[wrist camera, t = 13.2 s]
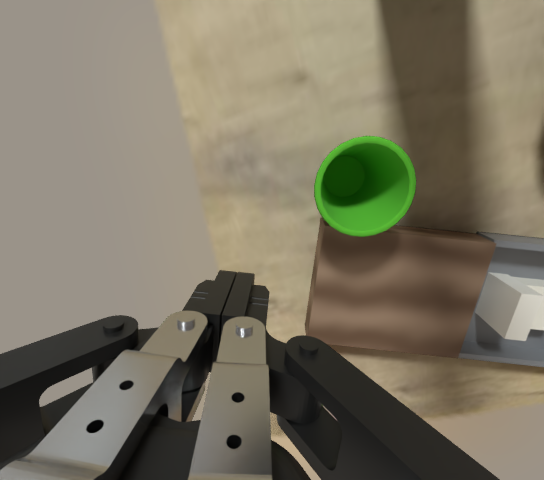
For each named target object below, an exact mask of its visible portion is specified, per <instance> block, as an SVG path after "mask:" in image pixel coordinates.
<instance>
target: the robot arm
mask: <svg viewBox="0 0 544 480" xmlns="http://www.w3.org/2000/svg"><path fill="white" fill-rule="evenodd" d="M268 301H269V291H268V290H267V288H266V287H265V286H260V285H254V274H251V273H242V272H238V273H237V272H232V271H222V270H220V271H219V273H218V275H217V277H216V279H215V281H211V280H206V281H204V282H202V283H200V284H199V285H198V286H197V287H196V289H195V291H194V292H193V294H192V296H191V298H190V299H189V301H188V302H187V304H186V305H185V307H184V309H183V310H182V311H180V312H176V313H174V314H171V315H170V316H168V318H166V320H165V321H164V322H163V323H162V324H161V326H160V327H158V328H151V329H140V330H138V322H137V321H136V320H135V319H134V318H132V317H129V316H122V315H119V316H111V317H107V318H103V319H101V320H98V321H95V322H92V323H89V324H86V325H83V326H80V327H78V328H74V329H72V330H69V331H66V332H63V333H60V334H57V335H54V336H51V337H49V338H46V339H43V340H40V341H37V342H34V343H31V344H29V345H26V346H23V347H20V348H17V349H14V350H11V351H8V352H5V353H2V354H0V480H311V479H310V478H309V476H308V475H307V474H306V472H305V471H304V470H303V468H302V467H301V465H300V464H299V463H298V461H297V460H296V459H295V458H294V457H293V456H292V455H291V454H290V453H289V452H288V451H287V450H286V449H284V448H283V447H282V446H280V445H279V444H277V443H276V442H274V441H272V440H271V428H270V412H271V413H274V414H276V415H277V422H278V424H279V426H280V428H281V429H282V430H283V431H284V433H285V434H286V435H287V437H288V438H289V439H290V440H291V442H292V443H293V444H294V445H295V447H296V448H297V449H298V450H299V452H300V453H301V454H302V456H303V457H304V458H305V459H306V461H307V462H308V463H309V464H310V466H311V467H312V468H313V470H314V471H315V472H316V473H317V475H318V476H319V477H320V478H321V480H499V479H498V478H497V477H496V476H494V475H493V474H492V473H491V472H489V471H488V470H487V469H485V468H484V467H483V466H481V465H480V464H479V463H478V462H476V461H475V460H474V459H473V458H471V457H470V456H469V455H468V454H466V453H465V452H464V451H462V450H461V449H460V448H458V447H457V446H456V445H455V444H453V443H452V442H451V441H450V440H448V439H447V438H446V437H445V436H443V435H442V434H440V433H439V432H438V431H437V430H436V429H434V428H433V427H432V426H430V425H429V424H428V423H427V422H425V421H424V420H423V419H421V418H420V417H419V416H418V415H416V414H415V413H414V412H413V411H411V410H410V409H409V408H407V407H406V406H405V405H404V404H402V403H401V402H400V401H398V400H397V399H396V398H395V397H393V396H392V395H391V394H390V393H388V392H387V391H386V390H384V389H383V388H382V387H381V386H379V385H378V384H377V383H375V382H374V381H373V380H372V379H370V378H369V377H368V376H367V375H365V374H364V373H363V372H361V371H360V370H359V369H358V368H356V367H355V366H354V365H352V364H351V363H350V362H349V361H347V360H346V359H345V358H343V357H342V356H341V355H340V354H338V353H337V352H336V351H335V350H333V349H332V348H331V347H329V346H328V345H327V344H326V343H324V342H323V341H321V340H319V339H317V338H315V337H311V336H296V337H293V338H291V339H290V340H289V341H288V342H287V343H283V342H281V341H278V340H276V339H274V338H273V337H271V336H270V335H269V333H268V332H267V330H266V320H267V310H268ZM89 368H92V373H93V383H91V384H89V385H87V386H85V387H83V388H80V389H78V390H76V391H74V392H72V393H70V394H68V395H66V396H64V397H62V398H60V399H58V400H56V401H53V402H52V403H49V404H47V405H45V406H43V407H40V406H39V399H40V396H41V395H42V393H43V392H44V391H45V390H46V389H47V388H48V387H50V386H52V385H54V384H56V383H58V382H60V381H62V380H65V379H67V378H69V377H71V376H74V375H76V374H78V373H80V372H83V371H85V370H87V369H89ZM209 372H211V375H210V380H209V385H208V389H207V394H206V398H205V403H204V408H203V412H202V418H201V420H197V421H192V419H193V417H194V414H195V412H196V410H197V407H198V405H199V403H200V400H201V398H202V395H203V393H204V391H205V381H206V379H207V376H208V373H209ZM322 405H323V406H324V407H325V408H326V409H327V410H328V411H329V412H330V413H331V414H332V415H333V416H334V417H335V418H336V419H335V418H334V417H333V416H332V415H331V414H330V413H329V412H328V411H327V410H326V409H325V408H324V407H323V406H322Z"/></svg>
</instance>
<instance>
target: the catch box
mask: <svg viewBox="0 0 544 480" xmlns="http://www.w3.org/2000/svg"><path fill="white" fill-rule="evenodd" d="M476 234H478V235H480V236H482V237H484V238H486V239H488V240H490V241H492V242H494V243H496V247H495V250H494V253H493V256H492V259H491V262H490V265H489V268H488V271H487V274H486V277H485V280H484V283H483V285H482V288H481V291H480V294H479V297H478V300H477V303H476V306H475V309H474V312H473V315H472V318H471V321H470V324H469V327H468V330H467V333H466V336H465V339H464V342H463V345H462V348H461V351H460V354H459V357H458V358H463V359H473V360H482V361H491V362H501V363H510V364H519V365H529V366H538V367H544V330H536V329H530V331H529V334H528V336H527V339H526V341H520V340H511V339H504V338H503V337H502V336H501V335H500V334H499V333H497V332H496V331H495V330H494V329H493V328H492V327H491V326H490V325H489V324H487V323H486V322H485V321H484V320H483V319H482V318H481V317H480V316H479V315H477V314H476V313H475V311H476V308H477V305H478V302H479V299H480V296H481V293H482V290H483V287H484V284H485V281H486V278H487V275H488V272H491V273H501V274H508V275H510V276H511V277H520V278H530V279H539V280H544V238H535V237H525V236H515V235H505V234H496V233H486V232H477V233H476Z"/></svg>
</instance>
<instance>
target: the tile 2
mask: <svg viewBox="0 0 544 480" xmlns="http://www.w3.org/2000/svg"><path fill="white" fill-rule="evenodd" d="M513 278H515V279H516V280H518V281H520V282H521V283H523V284H525V285H526V286H528V287H530V288H531V289H533V290H535V291H536V292H538V293H540V294H541V295H543V296H544V280H539V279H530V278H520V277H513ZM531 329H536V330H544V297H543V300H542V302H541V305H540V307H539V309H538V312H537V314H536V317H535V319H534V322H533V324H532V327H531Z"/></svg>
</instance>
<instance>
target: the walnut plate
mask: <svg viewBox="0 0 544 480" xmlns="http://www.w3.org/2000/svg"><path fill="white" fill-rule="evenodd" d="M495 247H496V243H494V242H492V241H490V240H488V239H486V238H484V237H482V236H480V235H478V234H473V233H464V232H454V231H444V230H435V229H425V228H415V227H405V226H396V225H394V226H392V227H391V228H389V229H388V230H386V231H384V232H381V233H379V234H376V235H372V236H365V237H358V236H350V235H347V234H343V233H340V232H339V231H337V230H336V229H334V228H332V227H331V226H330V225H329V224H328V223H327V222H326V221H325V220H324V219H323V218H321V220H320V227H319V233H318V240H317V247H316V254H315V260H314V267H313V274H312V281H311V287H310V294H309V301H308V308H307V314H306V321H305V330H306V336H311V337H315V338H317V339H319V340H321V341H323V342H324V343H326V344H330V345H339V346H348V347H358V348H367V349H376V350H386V351H395V352H404V353H414V354H423V355H432V356H442V357H451V358H458V357H459V354H460V351H461V348H462V345H463V342H464V339H465V336H466V333H467V330H468V327H469V324H470V321H471V318H472V315H473V312H474V309H475V306H476V303H477V300H478V297H479V294H480V291H481V288H482V285H483V283H484V280H485V277H486V274H487V271H488V268H489V265H490V262H491V259H492V256H493V253H494V250H495Z"/></svg>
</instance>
